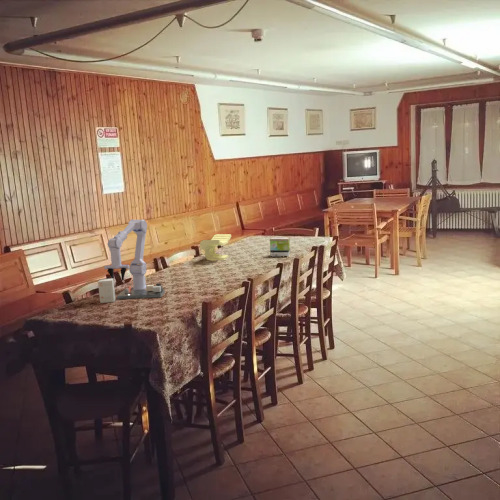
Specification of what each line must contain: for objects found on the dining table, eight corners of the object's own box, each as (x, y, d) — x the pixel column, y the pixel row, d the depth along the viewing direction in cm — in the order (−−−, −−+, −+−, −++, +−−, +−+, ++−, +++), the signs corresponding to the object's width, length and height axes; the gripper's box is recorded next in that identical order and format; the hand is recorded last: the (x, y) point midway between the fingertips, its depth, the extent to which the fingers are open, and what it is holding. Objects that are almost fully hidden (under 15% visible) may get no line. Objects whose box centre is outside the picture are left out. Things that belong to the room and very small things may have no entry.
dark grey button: (156, 287, 327) (156, 283, 327) (161, 287, 327) (161, 283, 327) (155, 288, 324) (155, 284, 324) (160, 288, 324) (160, 284, 324)
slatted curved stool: (214, 255, 447) (212, 234, 444) (232, 255, 442) (231, 234, 439) (201, 262, 419) (199, 240, 415) (220, 262, 414) (219, 240, 411)
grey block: (154, 291, 323) (154, 286, 322) (161, 290, 323) (160, 285, 322) (153, 292, 320) (153, 287, 319) (160, 292, 320) (159, 287, 319)
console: (123, 293, 330) (122, 287, 329) (164, 292, 329) (164, 285, 328) (117, 299, 316) (116, 292, 316) (160, 297, 316) (160, 291, 315)
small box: (115, 299, 316) (113, 278, 314) (114, 302, 310) (112, 280, 308) (101, 300, 316) (99, 278, 314) (99, 303, 310) (97, 281, 307)
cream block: (147, 289, 327) (147, 284, 326) (154, 289, 327) (153, 284, 326) (146, 290, 324) (146, 286, 323) (153, 290, 324) (152, 285, 323)
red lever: (128, 290, 326) (127, 285, 325) (132, 290, 326) (131, 285, 325) (124, 294, 317) (123, 289, 316) (128, 294, 316) (127, 289, 316)
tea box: (270, 257, 428) (269, 238, 426) (271, 254, 438) (271, 236, 436) (288, 256, 426) (288, 238, 423) (290, 254, 435) (289, 236, 433)
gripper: (102, 260, 315) (104, 282, 318) (126, 259, 315) (128, 281, 317) (105, 257, 322) (107, 279, 325) (129, 256, 322) (131, 278, 324)
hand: (118, 280), depth 322 cm, fingers open, 5 cm apart
